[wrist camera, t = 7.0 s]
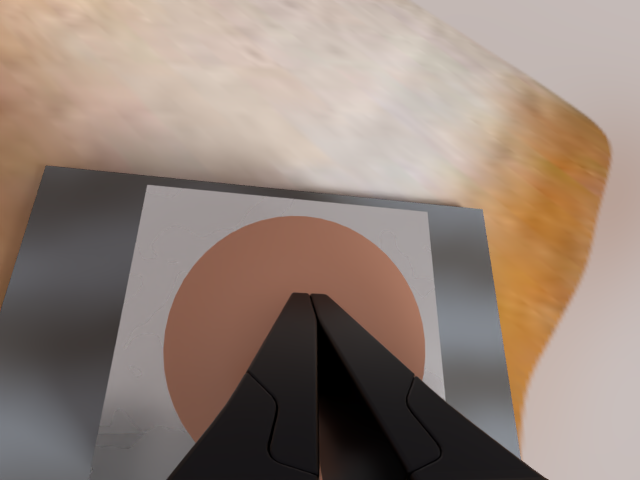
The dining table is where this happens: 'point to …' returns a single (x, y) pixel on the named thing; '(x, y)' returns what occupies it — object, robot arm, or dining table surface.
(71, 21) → the dining table surface
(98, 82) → the dining table surface
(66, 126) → the dining table surface
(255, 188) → the slate board
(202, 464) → the robot arm
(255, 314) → the terracotta plug
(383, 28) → the dining table surface
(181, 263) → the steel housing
